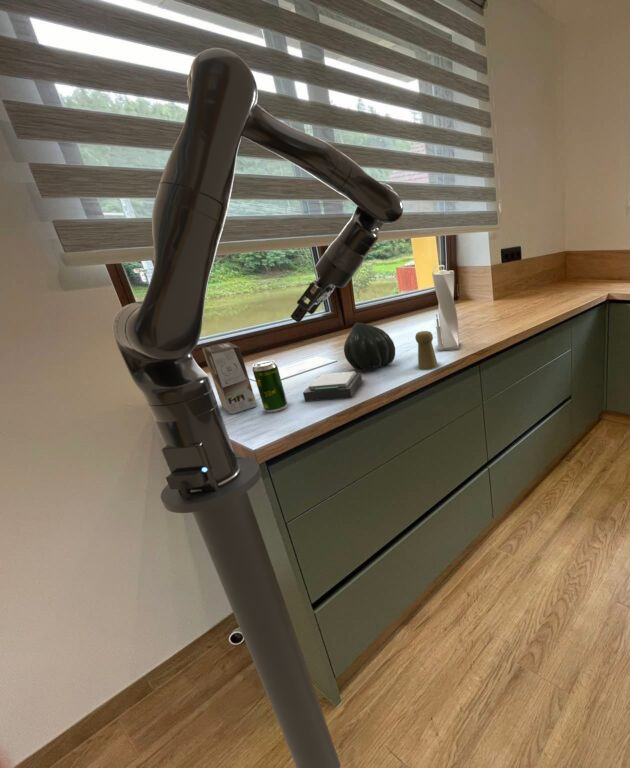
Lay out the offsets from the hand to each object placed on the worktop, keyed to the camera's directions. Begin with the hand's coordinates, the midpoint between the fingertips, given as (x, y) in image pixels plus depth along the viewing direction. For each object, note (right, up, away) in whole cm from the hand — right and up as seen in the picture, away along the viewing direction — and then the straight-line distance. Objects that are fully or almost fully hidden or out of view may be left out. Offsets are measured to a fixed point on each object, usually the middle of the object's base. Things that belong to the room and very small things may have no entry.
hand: (301, 315), depth 100 cm
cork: (+24, -11, +32) cm, 41 cm away
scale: (+1, -18, +17) cm, 25 cm away
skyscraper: (+28, -3, +51) cm, 58 cm away
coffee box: (-21, -22, +11) cm, 33 cm away
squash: (+5, -11, +35) cm, 37 cm away
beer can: (-10, -23, +8) cm, 26 cm away
